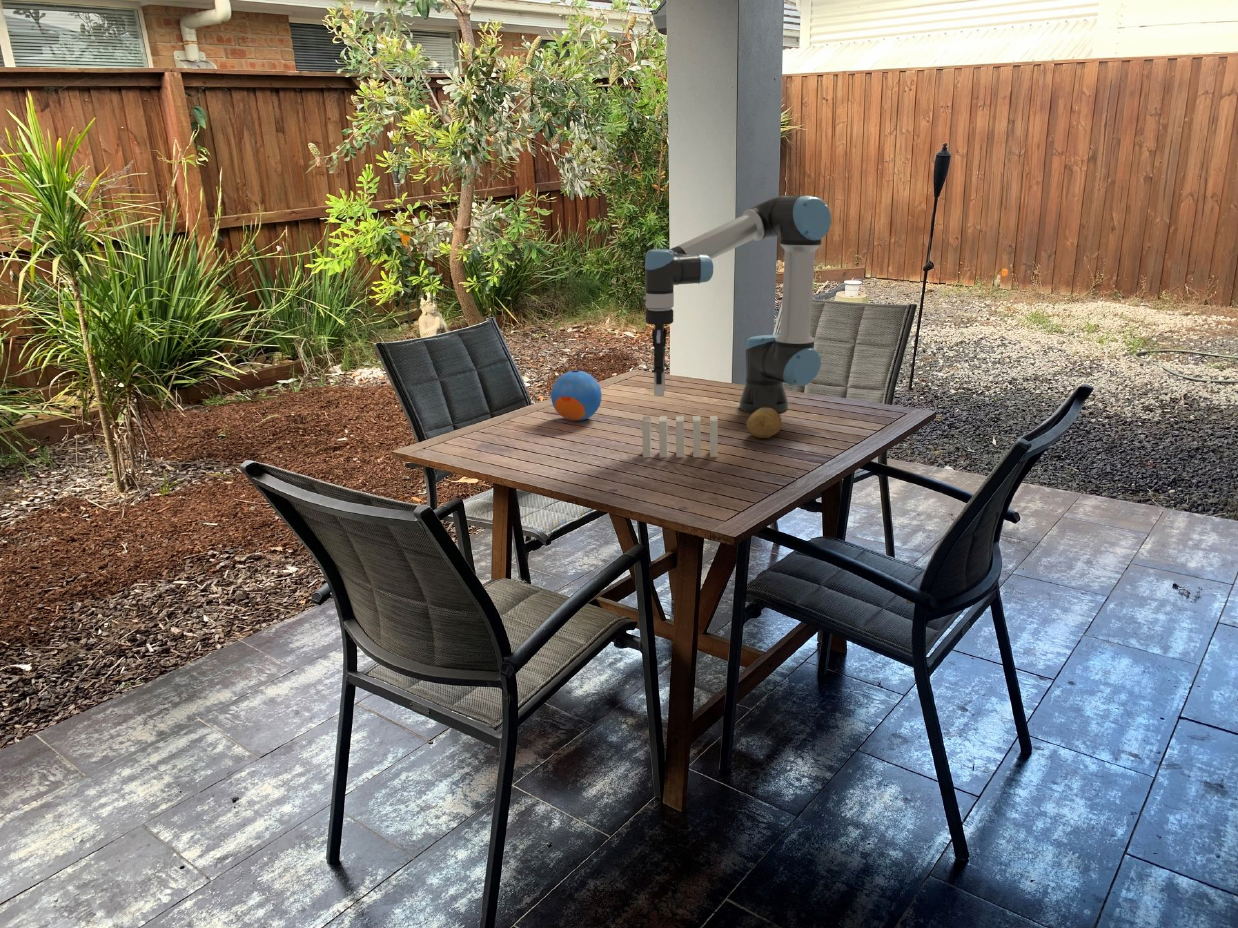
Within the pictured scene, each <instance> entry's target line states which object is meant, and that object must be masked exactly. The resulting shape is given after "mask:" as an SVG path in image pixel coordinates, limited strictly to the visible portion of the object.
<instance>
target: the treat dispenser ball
mask: <svg viewBox="0 0 1238 928" xmlns="http://www.w3.org/2000/svg"><path fill="white" fill-rule="evenodd" d="M602 395H603V394H602V390H601V387H600V384H599V382H598V381H597V379H596V378H594V376H593V375H591V374H590V373H587V372H586V371H582V370H570V371H567V372H565V373H563V374H561V375H560V376H558V377H557V379H556V380H555V382H554V384H553V385H552V388H551V393H550V399H551V403H552V406H553V408H554V410H555V411H556V413H557V414H558V415H559V416H561V417H563V418H564V419H565V420H569V421H571V422H580V421H585V420H587V419H589V418H592V416H594V415H595V413H597V412H598V410H599V407H600V406H601V403H602Z"/></svg>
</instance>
